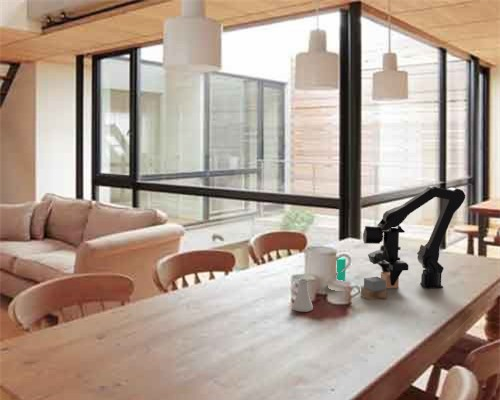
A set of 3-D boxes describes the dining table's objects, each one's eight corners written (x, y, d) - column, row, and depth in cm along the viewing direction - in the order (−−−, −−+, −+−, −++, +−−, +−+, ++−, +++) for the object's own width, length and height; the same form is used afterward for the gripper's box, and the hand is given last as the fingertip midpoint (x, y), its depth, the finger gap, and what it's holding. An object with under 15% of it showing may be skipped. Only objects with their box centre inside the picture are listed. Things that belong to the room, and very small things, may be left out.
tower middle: (376, 285, 198) (377, 276, 198) (385, 290, 193) (385, 280, 193) (363, 287, 197) (364, 278, 196) (372, 291, 191) (372, 281, 191)
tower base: (378, 294, 200) (379, 285, 199) (387, 300, 193) (387, 290, 192) (360, 295, 198) (361, 286, 198) (368, 301, 192) (368, 291, 191)
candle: (346, 286, 210) (347, 255, 208) (330, 286, 210) (331, 255, 208) (343, 282, 216) (344, 252, 214) (328, 282, 216) (329, 252, 214)
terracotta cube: (392, 284, 213) (393, 271, 213) (398, 287, 208) (398, 274, 208) (380, 284, 212) (381, 272, 212) (386, 288, 207) (386, 275, 207)
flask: (288, 310, 180) (288, 280, 179) (296, 304, 186) (297, 276, 185) (308, 313, 177) (309, 283, 176) (316, 307, 183) (317, 278, 182)
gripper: (361, 239, 216) (360, 278, 218) (381, 249, 198) (380, 291, 200) (387, 239, 218) (386, 277, 220) (409, 248, 200) (408, 289, 202)
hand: (389, 283), depth 210 cm, fingers closed on terracotta cube, 5 cm apart
